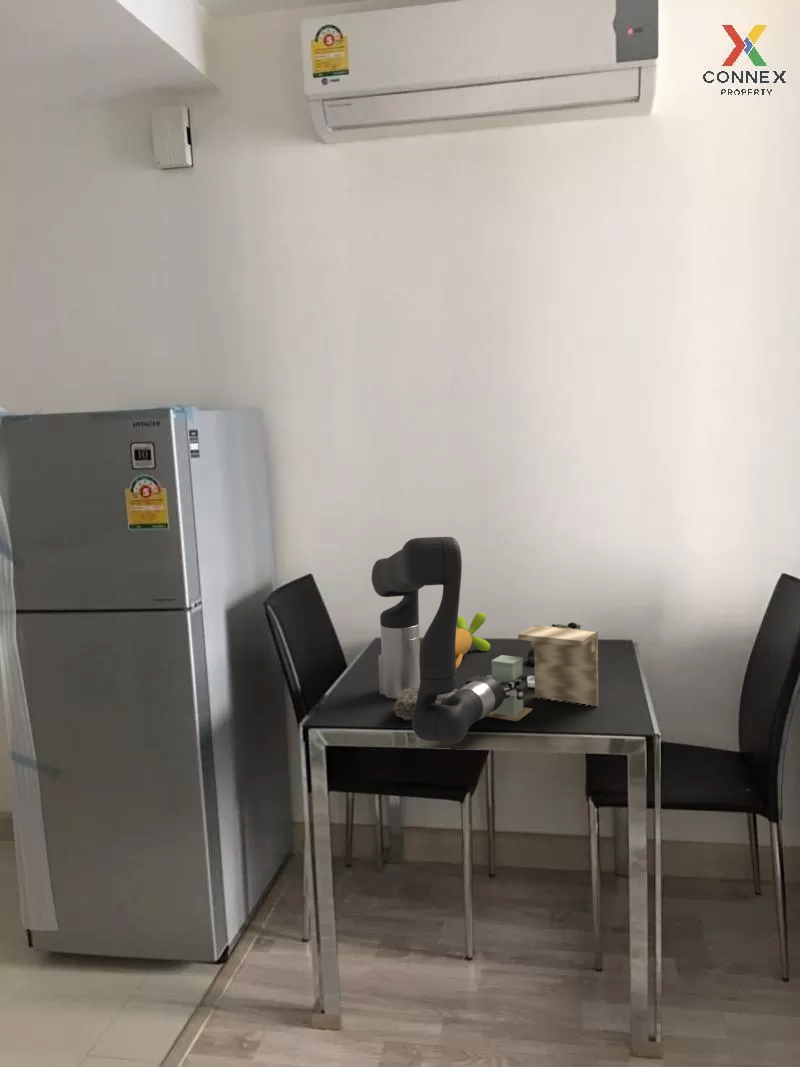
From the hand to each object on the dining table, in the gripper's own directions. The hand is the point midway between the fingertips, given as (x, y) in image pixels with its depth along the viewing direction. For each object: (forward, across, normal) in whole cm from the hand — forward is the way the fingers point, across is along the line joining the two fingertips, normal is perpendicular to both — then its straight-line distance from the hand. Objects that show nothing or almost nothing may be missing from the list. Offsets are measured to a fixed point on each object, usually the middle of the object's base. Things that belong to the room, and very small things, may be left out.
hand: (512, 677), depth 203 cm
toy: (+30, +33, +8) cm, 45 cm away
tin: (-3, 0, +7) cm, 7 cm away
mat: (-3, 0, +7) cm, 8 cm away
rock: (-11, +16, +8) cm, 21 cm away
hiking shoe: (+45, +8, +8) cm, 46 cm away
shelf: (+6, -8, +7) cm, 13 cm away
